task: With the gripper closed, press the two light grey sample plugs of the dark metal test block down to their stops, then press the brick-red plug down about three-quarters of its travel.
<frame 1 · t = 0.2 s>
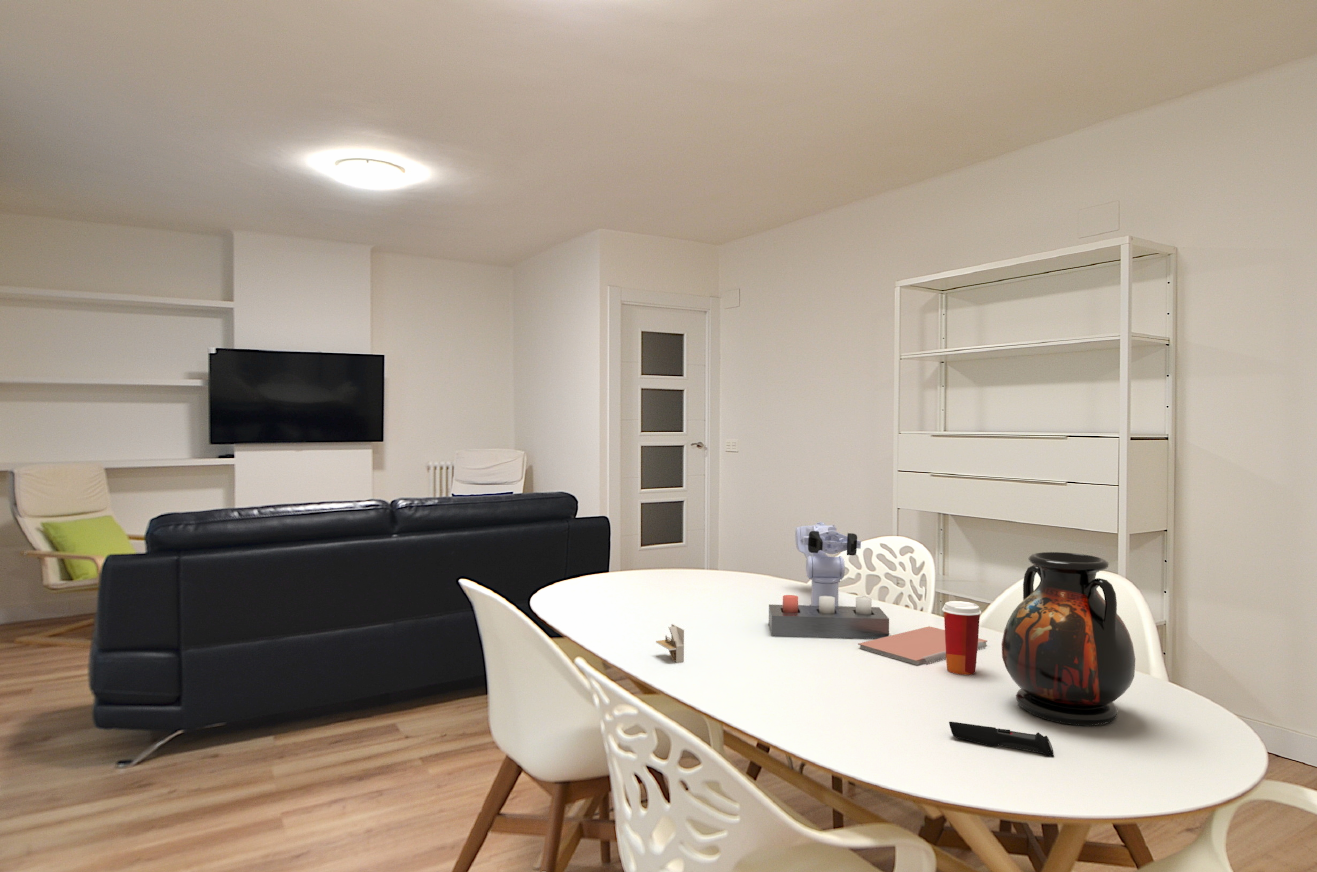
hand: (836, 546, 195), 21 cm above the table, tool horizontal, fingers open, 7 cm apart
amphora vase: (1065, 712, 142), on the table
paper cup: (960, 671, 165), on the table
notebook: (925, 650, 183), on the table
red plug: (790, 606, 197), point 6 cm above the table, slide at 0.0 cm
electric trimmer: (1002, 748, 127), on the table
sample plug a: (863, 608, 195), point 6 cm above the table, slide at 0.0 cm
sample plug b: (826, 607, 196), point 6 cm above the table, slide at 0.0 cm
architectural model: (674, 662, 172), on the table
test block: (826, 631, 196), on the table
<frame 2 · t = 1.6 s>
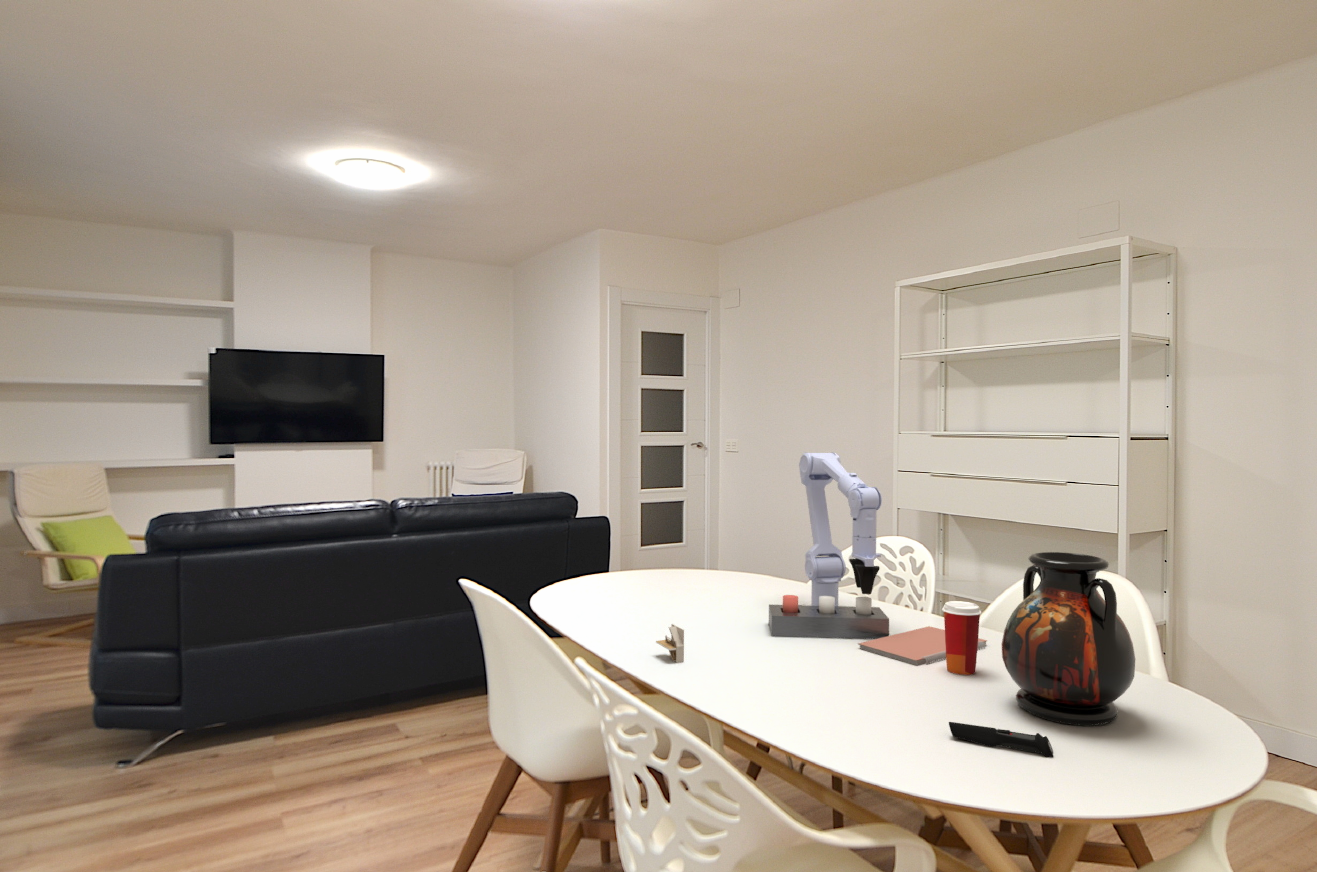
hand: (863, 590, 195), 10 cm above the table, tool pointing down, fingers open, 7 cm apart
nothing on the table moved.
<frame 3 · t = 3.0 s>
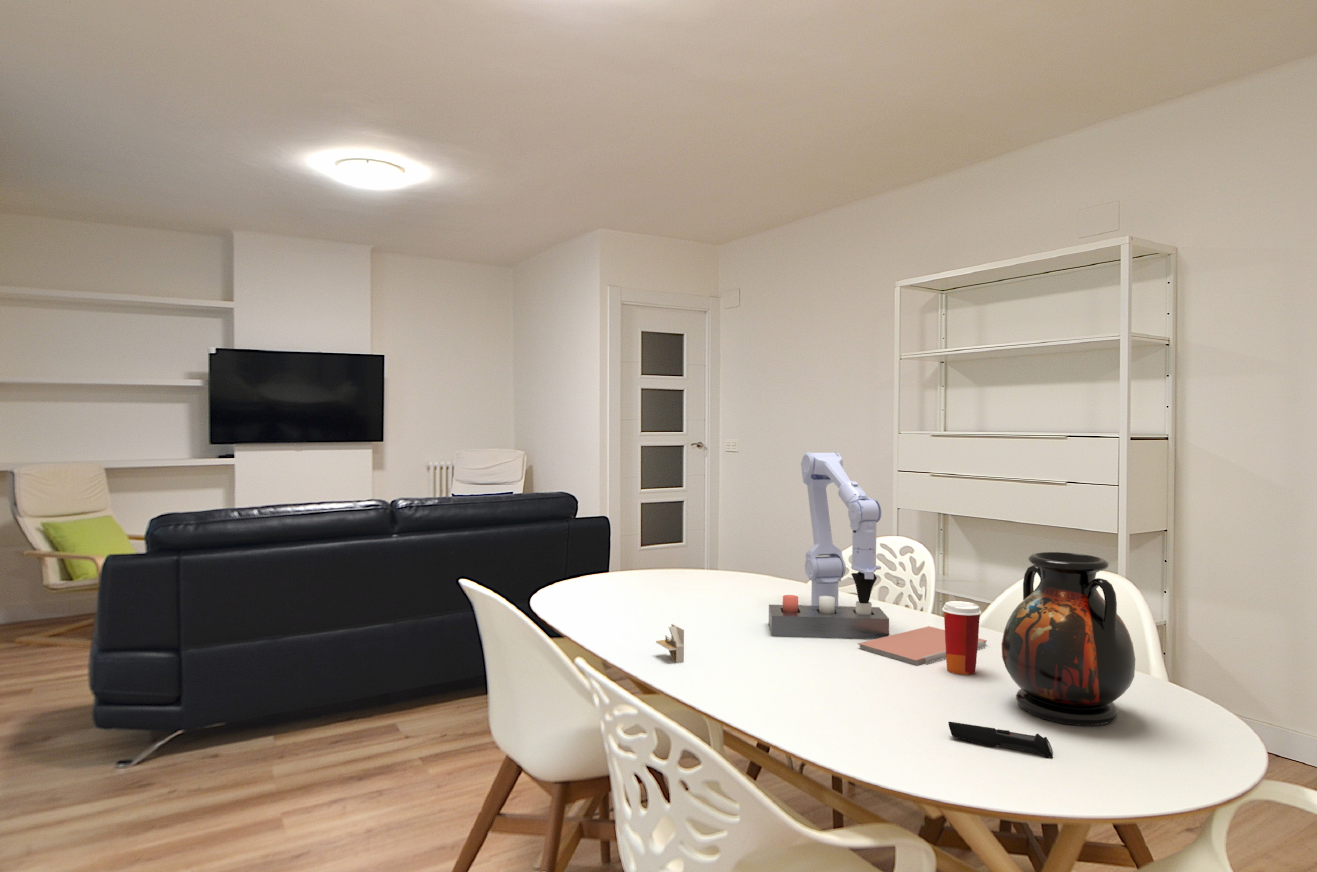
hand: (863, 602, 195), 7 cm above the table, tool pointing down, fingers closed, pressing on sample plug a
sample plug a: (863, 612, 195), point 5 cm above the table, slide at 1.1 cm, touching gripper
everything else where it was.
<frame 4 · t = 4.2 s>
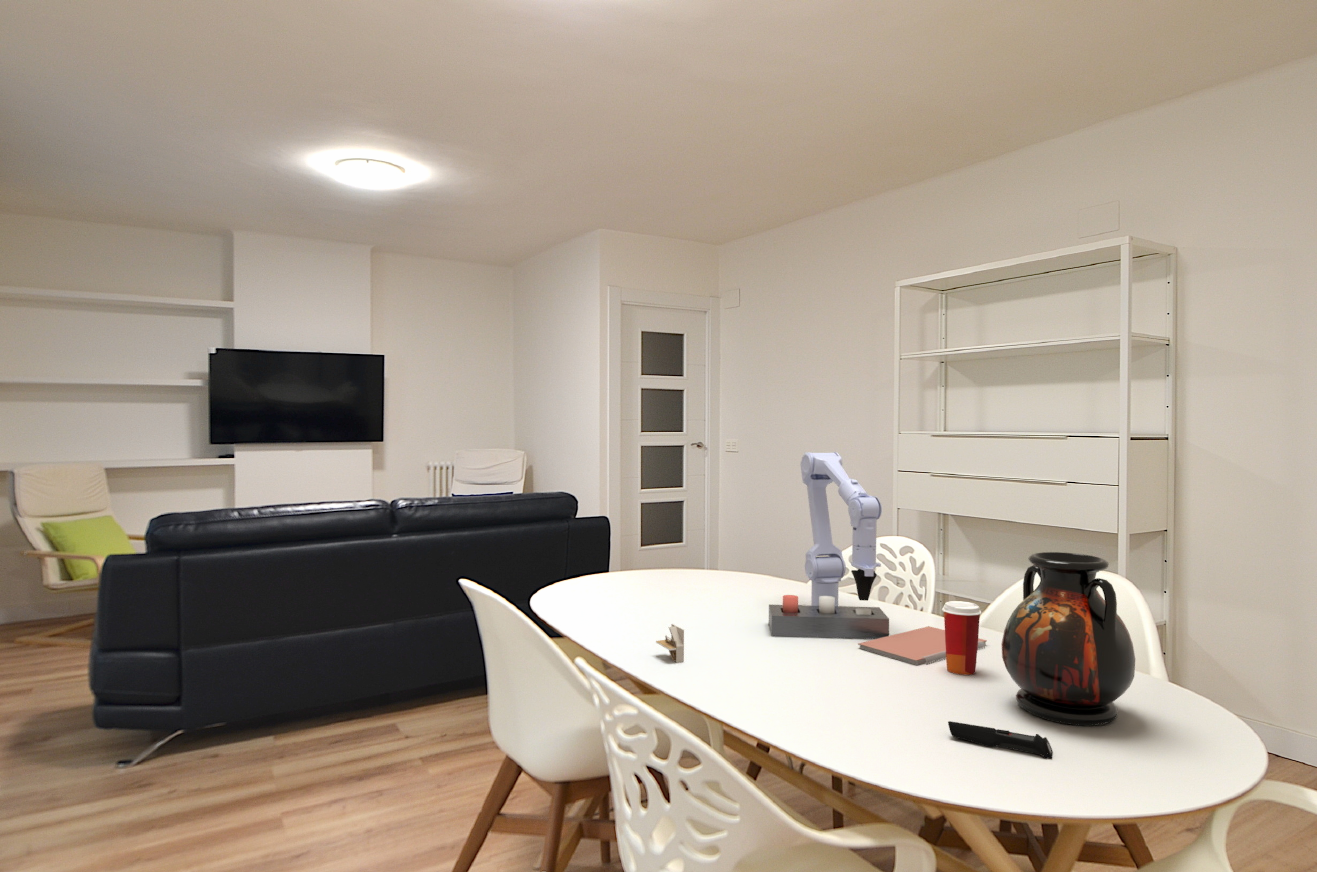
hand: (863, 599, 195), 8 cm above the table, tool pointing down, fingers closed
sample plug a: (863, 619, 195), point 3 cm above the table, slide at 2.8 cm
everything else where it was.
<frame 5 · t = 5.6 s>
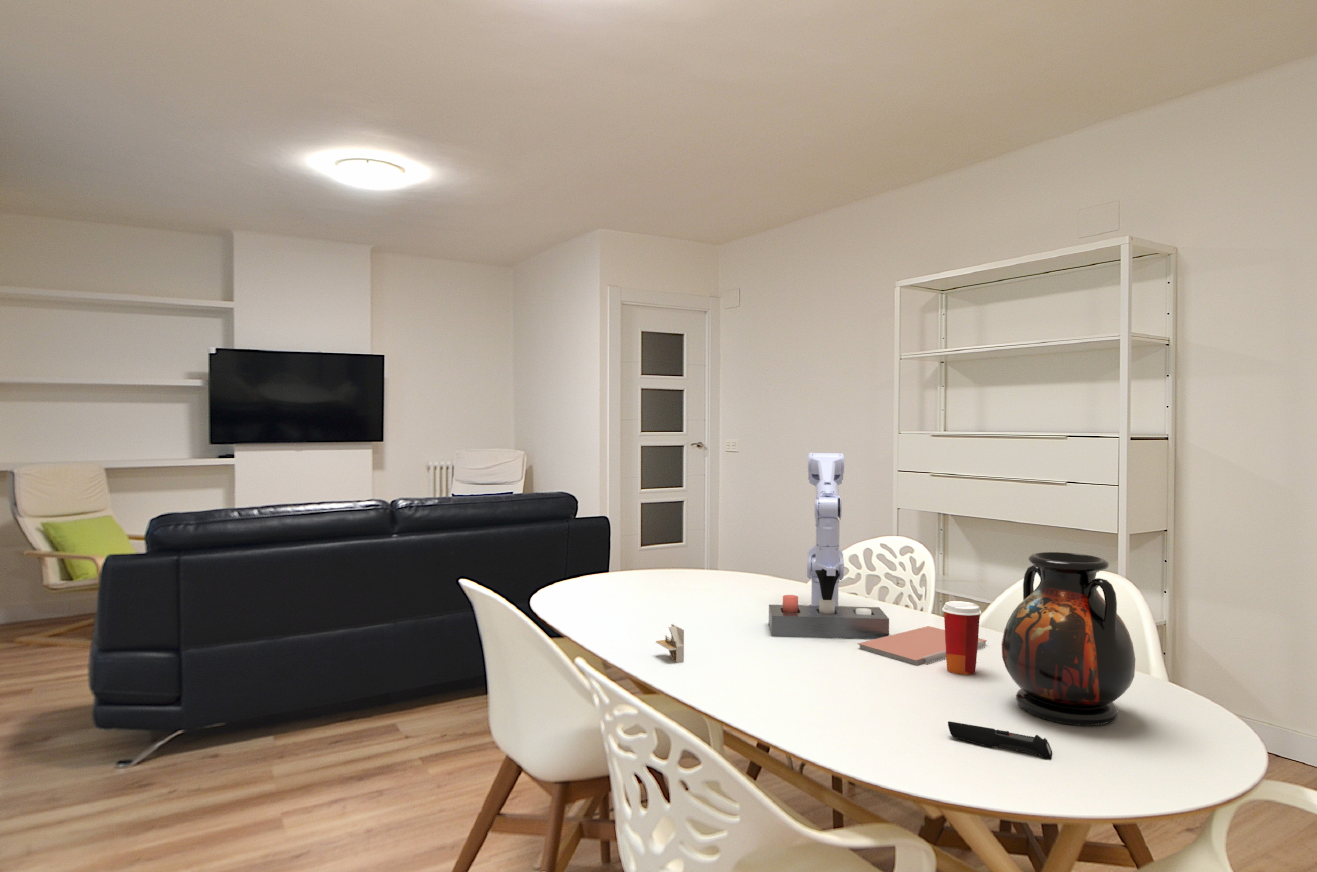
hand: (826, 599, 196), 8 cm above the table, tool pointing down, fingers closed, pressing on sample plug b
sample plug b: (826, 609, 196), point 6 cm above the table, slide at 0.5 cm, touching gripper
everything else where it was.
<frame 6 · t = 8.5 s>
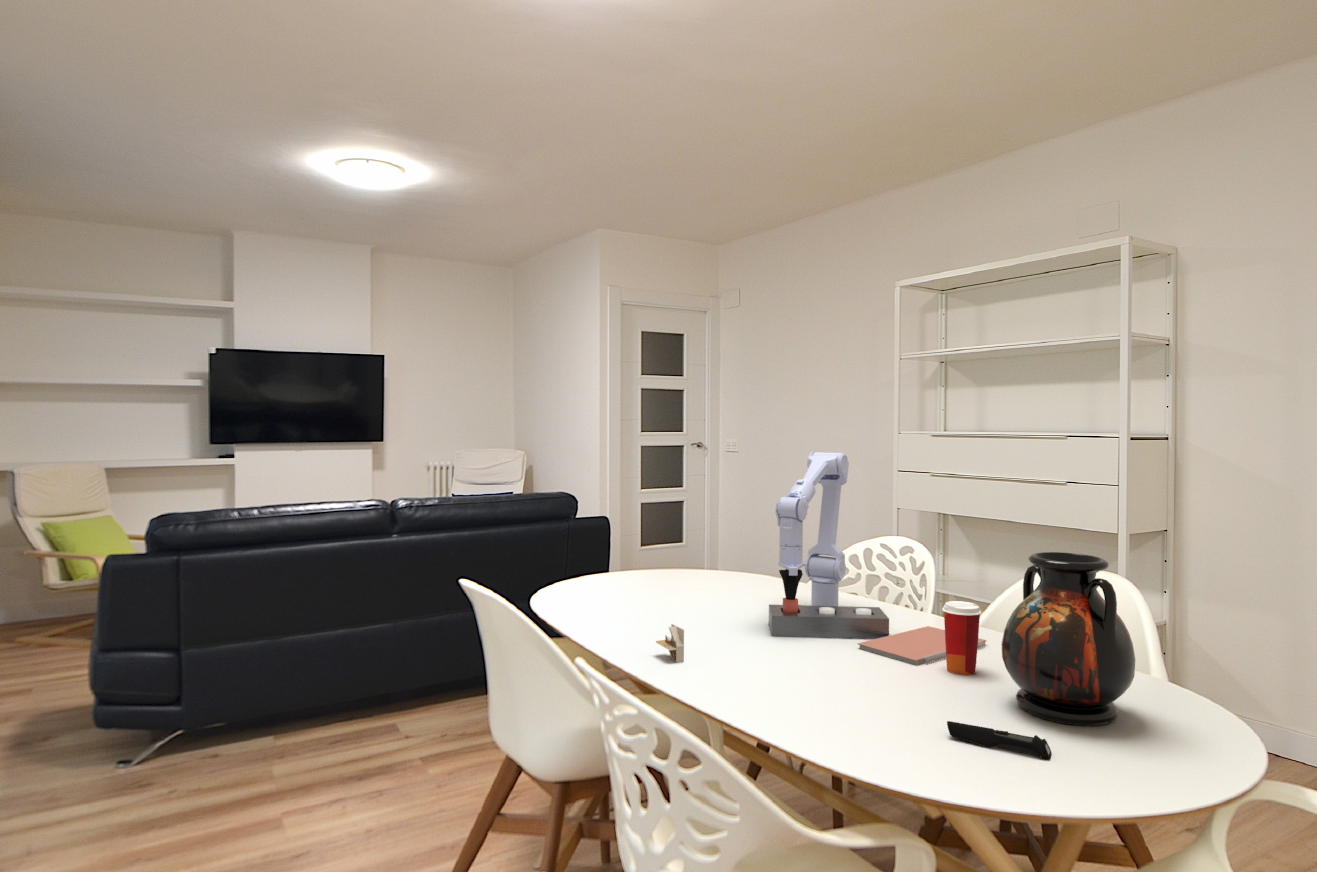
hand: (790, 599, 197), 8 cm above the table, tool pointing down, fingers closed, pressing on red plug
red plug: (790, 608, 197), point 5 cm above the table, slide at 0.6 cm, touching gripper
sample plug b: (826, 618, 196), point 3 cm above the table, slide at 2.8 cm
everything else where it was.
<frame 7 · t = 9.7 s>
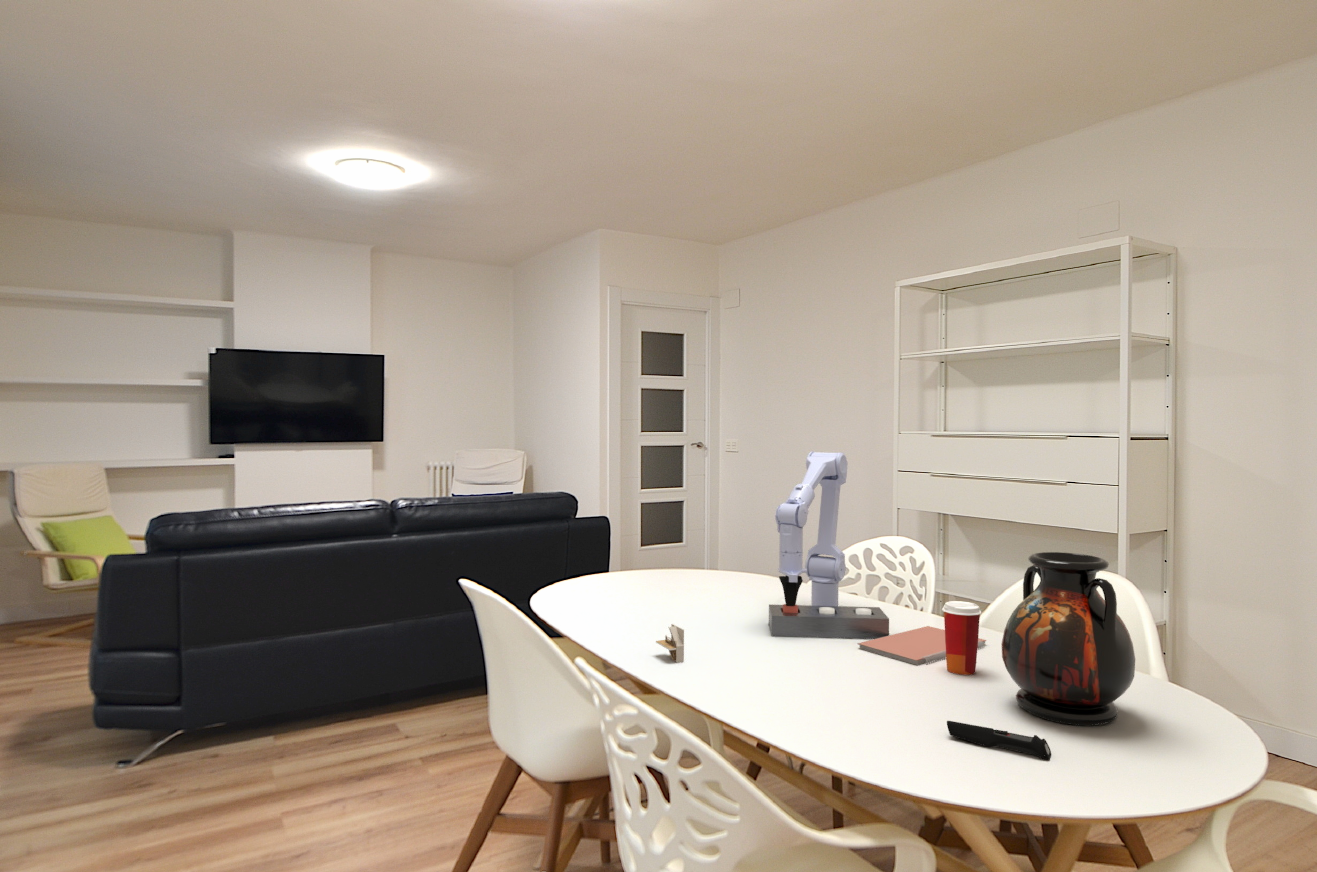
hand: (790, 605, 197), 6 cm above the table, tool pointing down, fingers closed, pressing on red plug
red plug: (790, 615, 197), point 4 cm above the table, slide at 2.2 cm, touching gripper
everything else where it was.
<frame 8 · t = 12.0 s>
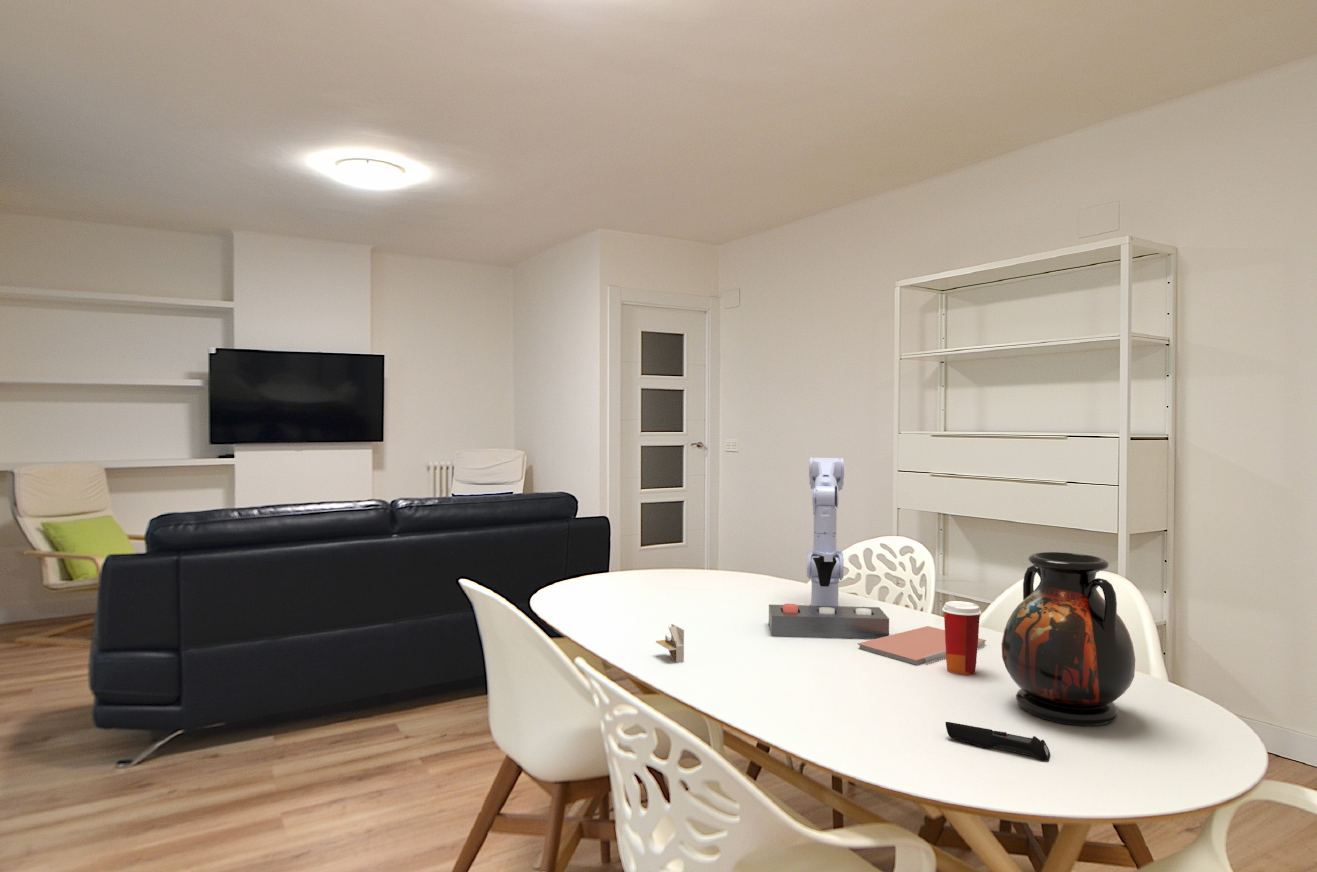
hand: (824, 586, 200), 10 cm above the table, tool pointing down, fingers closed
red plug: (790, 615, 197), point 4 cm above the table, slide at 2.2 cm
at the end: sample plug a slide at 2.8 cm; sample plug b slide at 2.8 cm; red plug slide at 2.2 cm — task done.
